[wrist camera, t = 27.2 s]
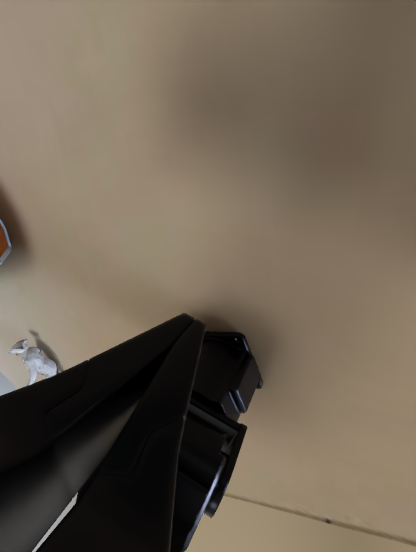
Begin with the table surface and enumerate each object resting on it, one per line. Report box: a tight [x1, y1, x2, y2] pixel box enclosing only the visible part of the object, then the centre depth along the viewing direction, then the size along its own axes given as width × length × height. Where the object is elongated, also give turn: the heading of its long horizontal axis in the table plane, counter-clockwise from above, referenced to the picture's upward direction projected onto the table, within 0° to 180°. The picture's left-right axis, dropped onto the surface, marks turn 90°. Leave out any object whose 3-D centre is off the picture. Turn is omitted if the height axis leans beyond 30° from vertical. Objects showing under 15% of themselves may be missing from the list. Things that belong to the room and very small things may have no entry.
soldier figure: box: [8, 339, 57, 386], centre depth 48 cm, size 8×5×12 cm
